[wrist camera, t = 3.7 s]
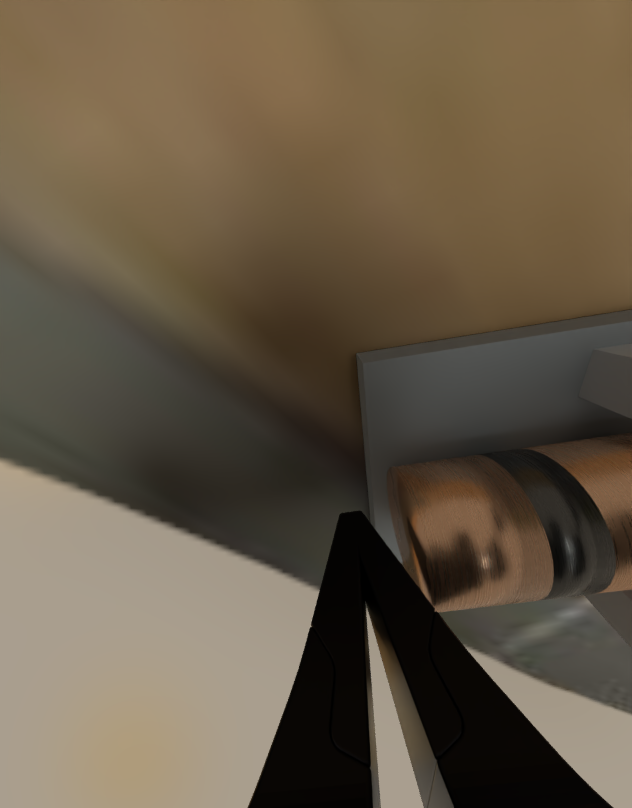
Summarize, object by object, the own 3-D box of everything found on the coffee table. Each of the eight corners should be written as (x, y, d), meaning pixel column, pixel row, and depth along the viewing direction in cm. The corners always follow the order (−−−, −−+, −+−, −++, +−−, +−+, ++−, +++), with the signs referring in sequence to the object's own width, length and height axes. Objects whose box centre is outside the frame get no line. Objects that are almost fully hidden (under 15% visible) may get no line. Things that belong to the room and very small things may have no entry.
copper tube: (743, 390, 8) (1071, 470, 5) (686, 480, 10) (896, 590, 6) (385, 443, 9) (437, 552, 5) (388, 521, 11) (430, 642, 7)
